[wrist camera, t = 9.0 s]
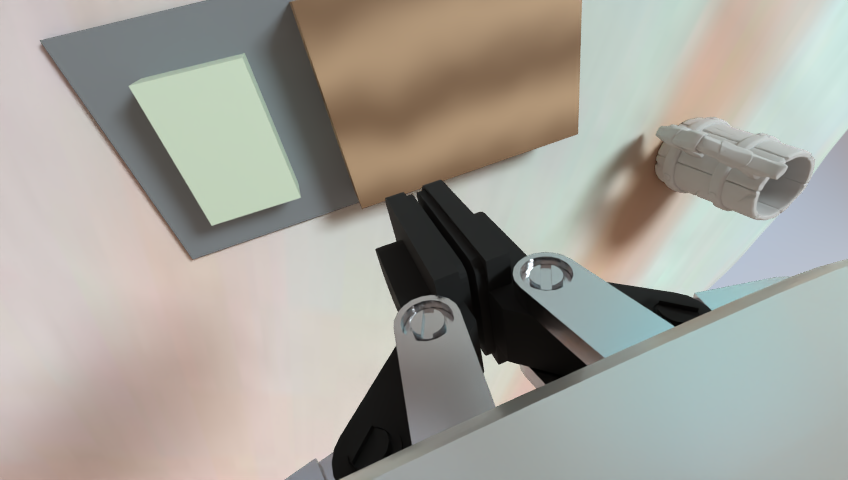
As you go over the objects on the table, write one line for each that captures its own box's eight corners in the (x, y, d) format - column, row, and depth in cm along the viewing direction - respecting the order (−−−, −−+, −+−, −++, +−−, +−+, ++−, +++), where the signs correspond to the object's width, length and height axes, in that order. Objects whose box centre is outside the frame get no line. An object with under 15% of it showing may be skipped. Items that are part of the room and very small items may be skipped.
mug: (677, 194, 44) (794, 249, 34) (615, 157, 38) (733, 211, 28) (725, 131, 41) (865, 171, 31) (665, 82, 35) (814, 112, 26)
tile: (242, 57, 22) (244, 53, 24) (128, 86, 21) (141, 78, 23) (300, 197, 27) (298, 183, 29) (211, 225, 26) (216, 209, 28)
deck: (289, 1, 23) (291, 1, 21) (549, -64, 26) (583, -72, 23) (353, 189, 31) (362, 208, 28) (552, 123, 34) (577, 133, 31)
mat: (43, 39, 21) (39, 40, 20) (298, -22, 23) (299, -23, 23) (193, 256, 29) (192, 259, 29) (369, 196, 32) (370, 198, 31)
